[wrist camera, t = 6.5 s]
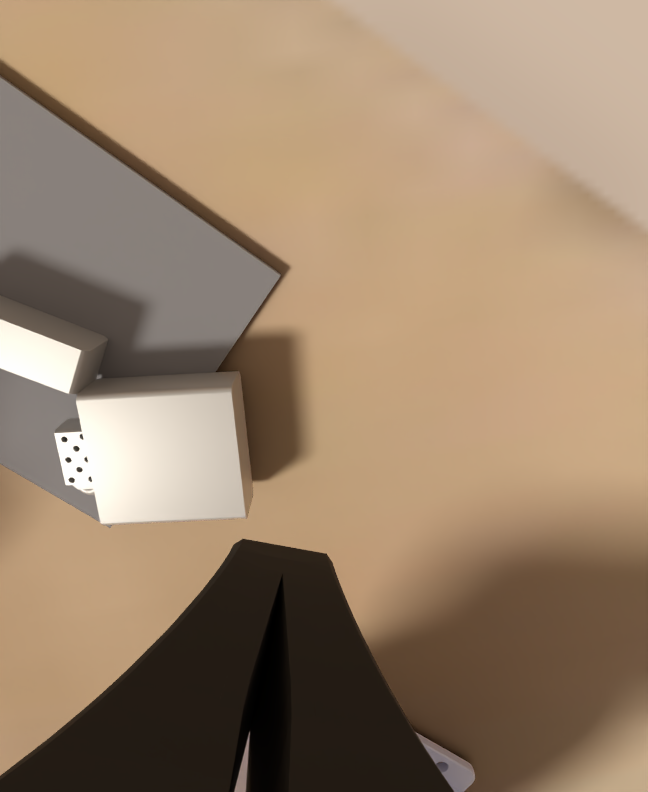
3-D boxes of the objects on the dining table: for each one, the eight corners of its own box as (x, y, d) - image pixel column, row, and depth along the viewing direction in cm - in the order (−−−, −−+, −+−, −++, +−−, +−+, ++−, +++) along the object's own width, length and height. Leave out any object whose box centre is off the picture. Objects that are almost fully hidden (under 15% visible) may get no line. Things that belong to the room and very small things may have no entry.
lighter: (246, 521, 17) (-23, 534, 18) (253, 493, 19) (7, 505, 19) (217, 275, 15) (-90, 294, 15) (228, 268, 17) (-49, 284, 17)
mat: (281, 274, 17) (280, 275, 17) (113, 523, 20) (110, 528, 20) (-39, 47, 15) (-46, 44, 15) (-177, 353, 18) (-185, 356, 18)
